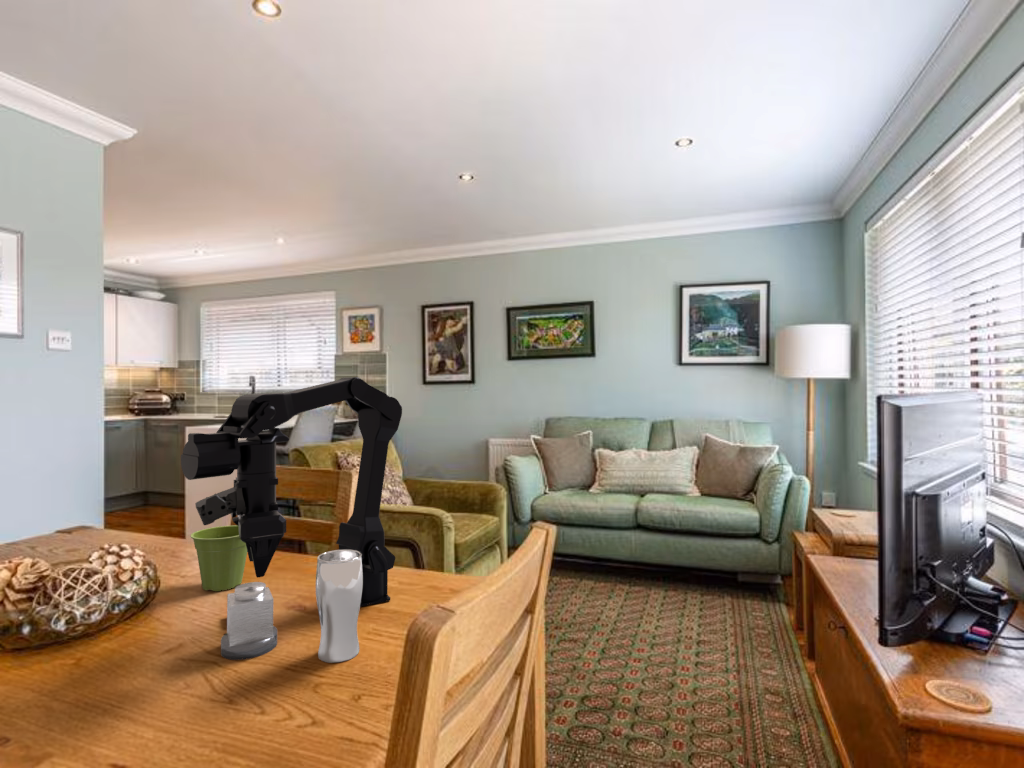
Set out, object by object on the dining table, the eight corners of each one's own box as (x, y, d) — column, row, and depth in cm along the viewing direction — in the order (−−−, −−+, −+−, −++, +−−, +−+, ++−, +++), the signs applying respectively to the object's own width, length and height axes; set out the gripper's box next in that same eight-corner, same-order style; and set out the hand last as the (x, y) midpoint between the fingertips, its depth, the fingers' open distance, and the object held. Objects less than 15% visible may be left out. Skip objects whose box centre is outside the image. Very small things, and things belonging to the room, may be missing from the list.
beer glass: (371, 646, 85) (372, 551, 85) (343, 667, 78) (344, 564, 79) (334, 640, 87) (335, 547, 88) (304, 660, 81) (305, 559, 81)
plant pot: (265, 582, 114) (266, 529, 114) (209, 600, 104) (210, 542, 104) (234, 572, 120) (234, 522, 120) (177, 588, 110) (178, 533, 110)
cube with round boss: (267, 623, 89) (268, 577, 89) (272, 637, 84) (273, 589, 84) (226, 631, 86) (227, 584, 86) (229, 646, 81) (230, 596, 81)
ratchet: (280, 651, 83) (281, 612, 84) (222, 664, 79) (222, 623, 79) (265, 610, 99) (265, 577, 99) (216, 619, 95) (216, 585, 95)
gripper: (197, 468, 91) (196, 561, 90) (201, 484, 75) (200, 597, 75) (269, 463, 97) (269, 550, 96) (287, 477, 81) (286, 582, 80)
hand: (256, 568), depth 87 cm, fingers open, 9 cm apart
